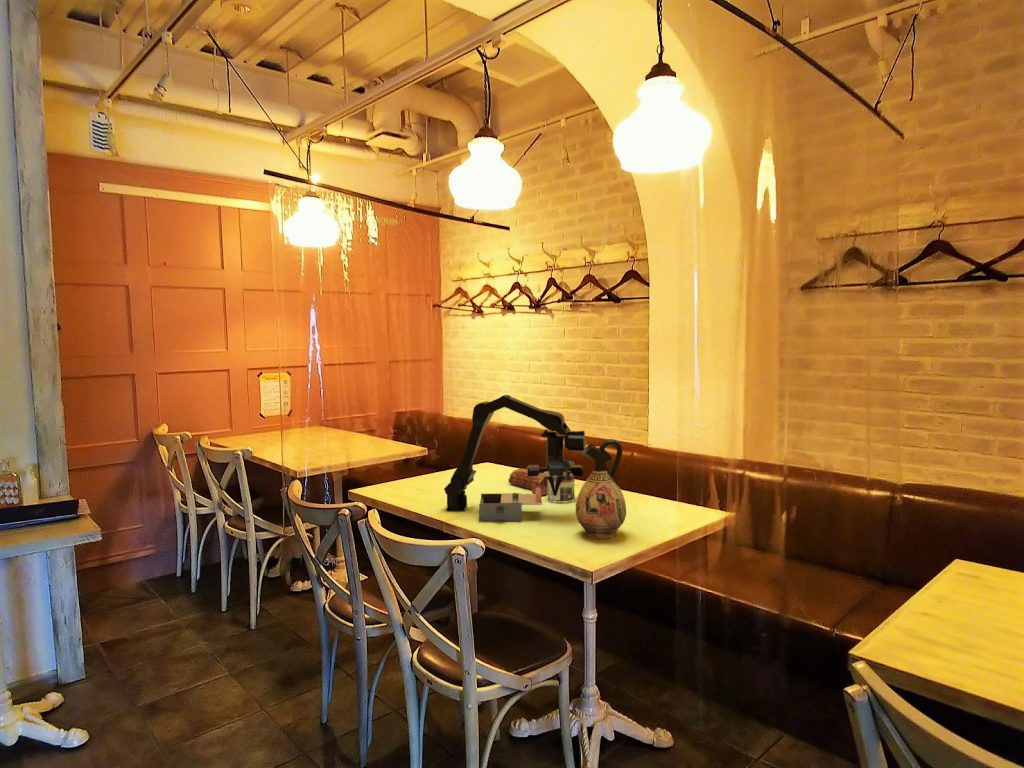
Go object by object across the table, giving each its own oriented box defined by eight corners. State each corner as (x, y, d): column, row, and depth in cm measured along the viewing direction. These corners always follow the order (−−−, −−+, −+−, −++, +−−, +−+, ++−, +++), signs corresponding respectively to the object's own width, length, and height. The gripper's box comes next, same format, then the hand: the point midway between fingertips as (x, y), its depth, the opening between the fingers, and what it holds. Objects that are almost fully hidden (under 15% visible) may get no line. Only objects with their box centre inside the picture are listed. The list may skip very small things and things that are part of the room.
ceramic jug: (576, 542, 190) (577, 442, 188) (574, 527, 205) (574, 434, 203) (634, 543, 189) (635, 442, 187) (627, 527, 204) (628, 434, 202)
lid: (500, 505, 212) (500, 495, 212) (501, 496, 224) (501, 486, 223) (542, 505, 212) (542, 494, 212) (540, 496, 224) (540, 486, 223)
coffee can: (576, 496, 243) (576, 460, 242) (573, 504, 233) (573, 465, 232) (549, 495, 245) (549, 459, 244) (545, 502, 235) (545, 464, 234)
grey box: (478, 524, 209) (478, 506, 208) (481, 508, 228) (481, 491, 227) (521, 523, 209) (521, 505, 208) (521, 508, 228) (521, 491, 227)
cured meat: (538, 498, 241) (539, 481, 241) (499, 486, 261) (499, 470, 261) (574, 492, 252) (574, 475, 252) (533, 481, 272) (534, 465, 272)
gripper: (527, 454, 208) (528, 501, 210) (585, 454, 208) (585, 501, 210) (527, 448, 220) (527, 493, 221) (581, 448, 219) (581, 493, 221)
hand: (554, 495), depth 218 cm, fingers closed
